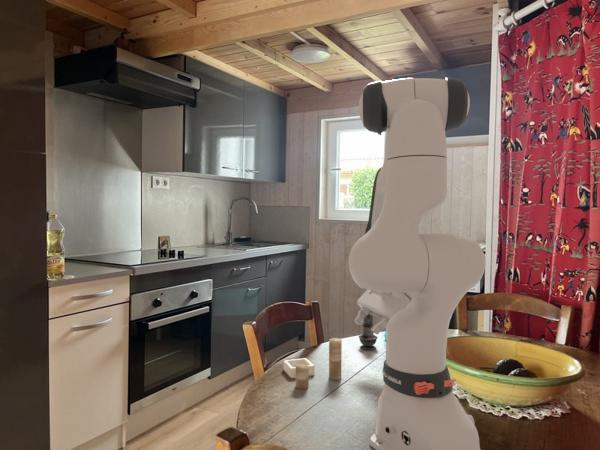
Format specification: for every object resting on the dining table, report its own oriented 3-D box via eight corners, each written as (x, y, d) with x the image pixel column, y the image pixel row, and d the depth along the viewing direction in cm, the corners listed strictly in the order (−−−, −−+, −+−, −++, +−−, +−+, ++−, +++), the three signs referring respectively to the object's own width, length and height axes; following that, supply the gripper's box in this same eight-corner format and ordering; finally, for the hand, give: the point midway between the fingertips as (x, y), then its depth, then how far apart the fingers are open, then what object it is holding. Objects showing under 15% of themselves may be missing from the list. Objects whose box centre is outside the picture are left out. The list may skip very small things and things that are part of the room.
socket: (314, 375, 117) (314, 365, 117) (291, 378, 115) (291, 368, 115) (305, 366, 123) (305, 357, 123) (283, 369, 121) (283, 360, 121)
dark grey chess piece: (376, 345, 143) (377, 308, 142) (378, 351, 137) (378, 312, 136) (358, 345, 143) (358, 308, 143) (358, 350, 137) (359, 312, 137)
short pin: (310, 388, 108) (310, 368, 108) (298, 390, 107) (298, 369, 107) (305, 383, 111) (305, 364, 111) (293, 385, 110) (293, 365, 110)
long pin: (343, 379, 114) (343, 341, 114) (331, 381, 113) (332, 342, 112) (338, 375, 117) (338, 337, 117) (327, 376, 116) (327, 338, 115)
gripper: (371, 275, 129) (340, 311, 126) (411, 287, 110) (376, 329, 107) (385, 289, 131) (354, 325, 128) (426, 303, 112) (392, 346, 109)
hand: (364, 327), depth 117 cm, fingers open, 8 cm apart
